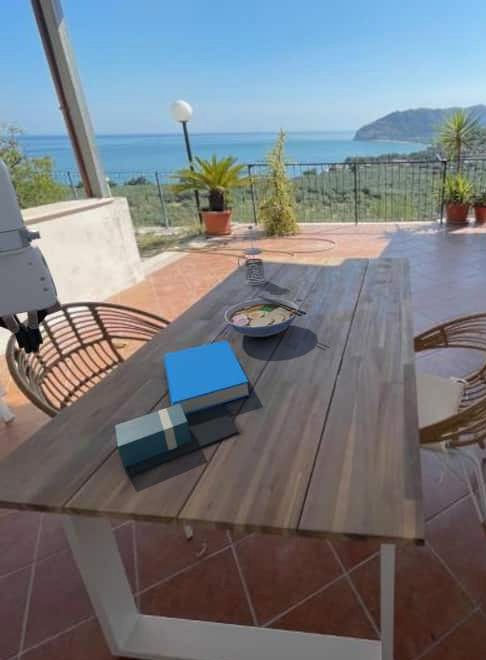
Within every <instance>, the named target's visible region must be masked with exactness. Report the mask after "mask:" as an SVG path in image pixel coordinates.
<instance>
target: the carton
mask: <svg viewBox="0 0 486 660" xmlns="http://www.w3.org/2000/svg"><path fill="white" fill-rule="evenodd" d="M185 415H186V414H184V412H183V410H182V407H181V405H180V404H177V405H174V406H171V405H170V406H169V407H165V408H162V409H159V410H156V411H154V412H151V413H148V414H145V415H142V416H139V417H136V418H133V419H130V420H127V421H125V422H120V423H118V424H116V425H114V430H115V436H116V437H115V438H116V444H117V449H118V452H119V457H120V460H121V463H122V467H123V468H128V467H129V466H130V465H132V464H135V463H138V462H140V461H143V460H145V459H148V458H150V457H153V456H155V455H158V454H161V453H163V452H166V451H168V450H171V449H174V448H176V447H178V446H181V445H183V444H186V443H189V442H191V437H190V432H189V427H188V422H187V419H186V417H185Z"/></svg>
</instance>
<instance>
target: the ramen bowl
mask: <svg viewBox="0 0 486 660" xmlns="http://www.w3.org/2000/svg"><path fill="white" fill-rule="evenodd" d="M257 297H258V298H255V299H250V300H246V301H242V302H240V303H237V304H235V305H233V306H231V307H230V308H229V309H228V310H226V311H225V312H224V319H225V321H226V322H227V323H228V325H229V326H230V327H231V328H232V329H233V330H234V331H236V332H237V333H238V334H242V335H245V336H247V337H254V338H267V337H269V336H273V335H276V334H279V333H280V332H282V331H284V330H286V329H287V328H288V327H289V326H290V324H291V323H292V322H293V321H294V319H296V316H298V317H302V315H304V316H305V315H307V312H306V311H304V310H301V309H298V305H297V304H295V303H293V302H292V301H291V300H286V299H283V298H274V297H264V296H262V295H259V294H258V295H257Z"/></svg>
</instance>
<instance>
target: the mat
mask: <svg viewBox="0 0 486 660" xmlns="http://www.w3.org/2000/svg"><path fill="white" fill-rule="evenodd" d="M185 417H186V419H187V422H188V427H189V432H190V437H191V442H189V443H186V444H183V445H181V446H178V447H176V448H174V449H171V450H168V451H166V452H163V453H161V454H158V455H155V456H153V457H150V458H148V459H145V460H143V461H140V462H138V463H135V464H132V465H130V466H128V471H129V475H130V477H132V476H135V475H138V474H141V473H142V472H144V471H145V472H146V471H148V470H150V469H153V468H155V467H157V466H160V465H163V464H165V463H167V462H170V461H173V460H175V459H177V458H180V457H183V456H185V455H186V454H190V453H192V452H195V451H197V450H199V449H203V448H204V447H207V446H209V445H212V444H214V443H217V442H220V441H221V440H224V439H227V438H229V437H232V436H234V435H237V434H239V430H238V428H237V426H236V425H235V423H234V422H233V420H232V418H231V416H230V414H229V412H228V411H227V409H226V407H225V405H224V403H222V404H219V405H215V406H212V407H209V408H205V409H202V410H199V411H195V412H192V413H189V414H185Z"/></svg>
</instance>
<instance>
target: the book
mask: <svg viewBox="0 0 486 660" xmlns="http://www.w3.org/2000/svg"><path fill="white" fill-rule="evenodd" d="M163 363H164V369H165V374H166V382H167V387H168V388H167V389H168V393H169V400H170V407H171V406H174V405H177V404H180V405H181V407H182V410H183V412H184V414H185V415H188V414H190V413H193V412H196V411H199V410H202V409H205V408H209V407H212V406H215V405H219V404H224V403H225V404H226V403H228V402H231V401H235V400H238V399H242V398H245V397H248V396H251V393H250V391H249V386H248V384H249V380H248V378H247V376H246V374H245V372H244V370H243V369H242V367H241V364H240V362H239V361H238V359H237V357H236V355H235V354H234V351H233V349H232V347H231V345H230V343H229V341H228V340H221V341H217V342H212V343H208V344H204V345H200V346H194V347H191V348H186V349H182V350H177V351H173V352H169V353H165V354H164V357H163Z"/></svg>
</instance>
